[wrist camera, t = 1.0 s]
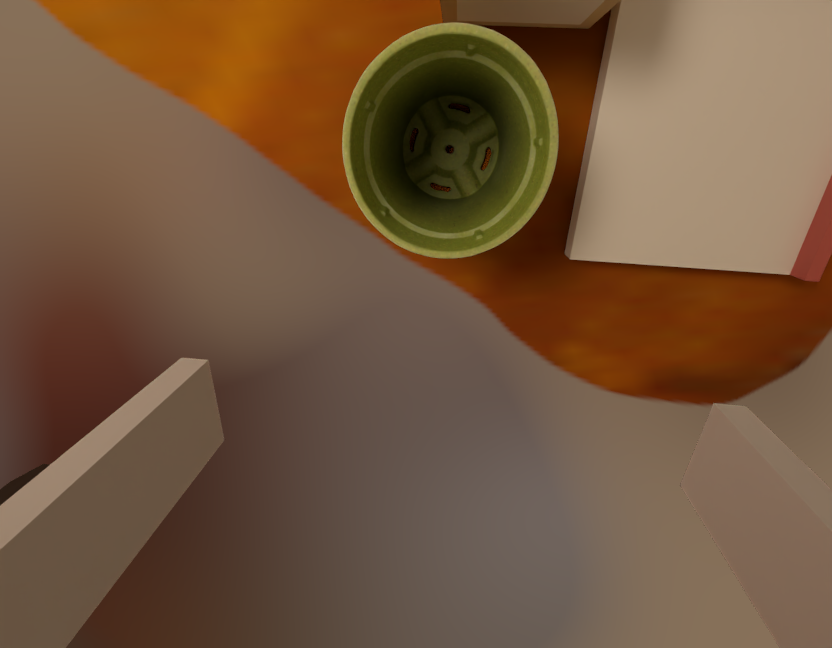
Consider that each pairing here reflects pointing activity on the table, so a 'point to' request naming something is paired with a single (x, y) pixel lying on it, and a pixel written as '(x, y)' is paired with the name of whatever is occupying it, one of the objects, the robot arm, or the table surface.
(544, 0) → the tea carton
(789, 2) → the shelf board
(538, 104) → the plant pot
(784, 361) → the table surface
